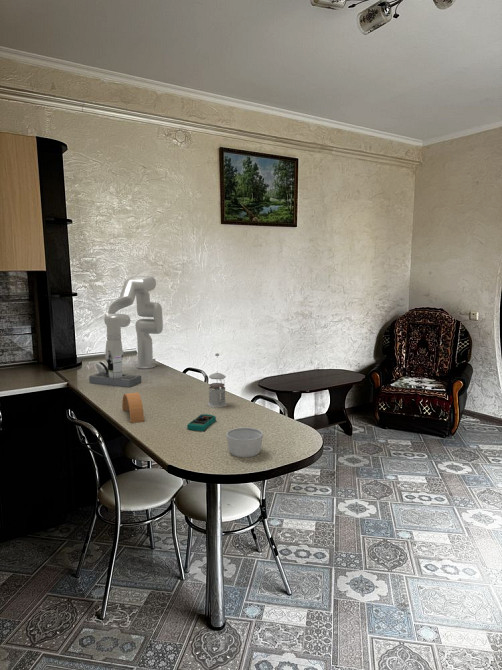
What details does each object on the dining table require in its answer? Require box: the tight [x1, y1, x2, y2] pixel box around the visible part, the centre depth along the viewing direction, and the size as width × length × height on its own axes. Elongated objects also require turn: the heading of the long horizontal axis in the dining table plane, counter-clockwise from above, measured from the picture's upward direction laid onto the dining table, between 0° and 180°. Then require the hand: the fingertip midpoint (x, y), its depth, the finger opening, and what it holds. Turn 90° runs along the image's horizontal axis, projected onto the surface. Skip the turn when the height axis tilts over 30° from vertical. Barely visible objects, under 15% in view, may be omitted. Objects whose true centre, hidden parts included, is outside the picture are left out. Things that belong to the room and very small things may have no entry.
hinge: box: [95, 360, 109, 373], centre depth 280 cm, size 17×5×10 cm, turn 34°
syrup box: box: [108, 355, 123, 378], centre depth 264 cm, size 6×6×14 cm
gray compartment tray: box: [88, 372, 142, 388], centre depth 264 cm, size 12×26×4 cm, turn 71°
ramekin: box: [225, 426, 264, 458], centre depth 168 cm, size 13×13×7 cm
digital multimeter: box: [186, 413, 217, 432], centre depth 196 cm, size 7×15×3 cm, turn 163°
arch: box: [121, 392, 145, 424], centre depth 207 cm, size 6×20×10 cm, turn 24°
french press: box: [206, 353, 228, 408], centre depth 225 cm, size 10×12×25 cm
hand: (115, 368), depth 264 cm, fingers closed on syrup box, 7 cm apart
